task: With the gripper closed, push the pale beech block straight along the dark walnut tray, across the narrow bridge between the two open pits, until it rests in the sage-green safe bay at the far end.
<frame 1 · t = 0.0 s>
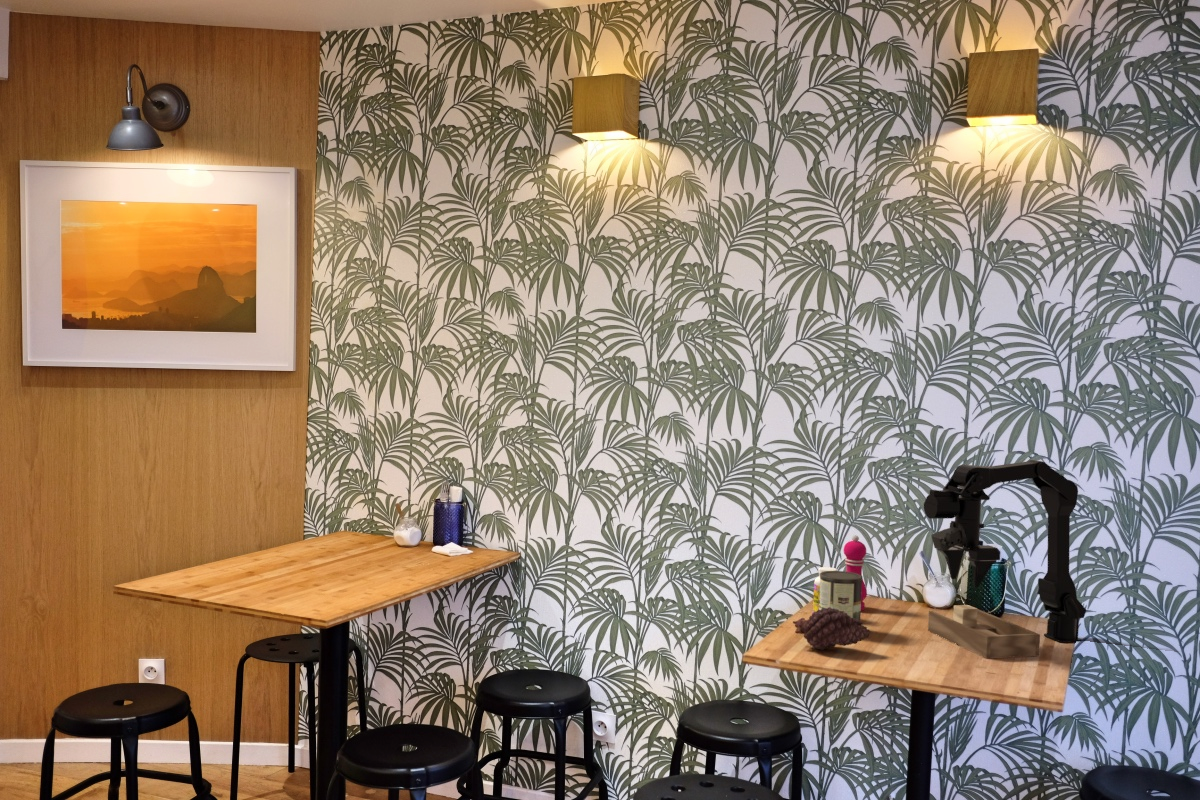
hand: (964, 583, 252), 15 cm above the table, tool pointing down, fingers open, 9 cm apart
beech block: (964, 625, 260), point 2 cm above the table, touching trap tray
supplement bottle: (825, 618, 274), on the table
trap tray: (981, 642, 254), on the table
pepper mill: (852, 609, 285), on the table
pine cone: (829, 651, 243), on the table
coffee can: (838, 632, 261), on the table
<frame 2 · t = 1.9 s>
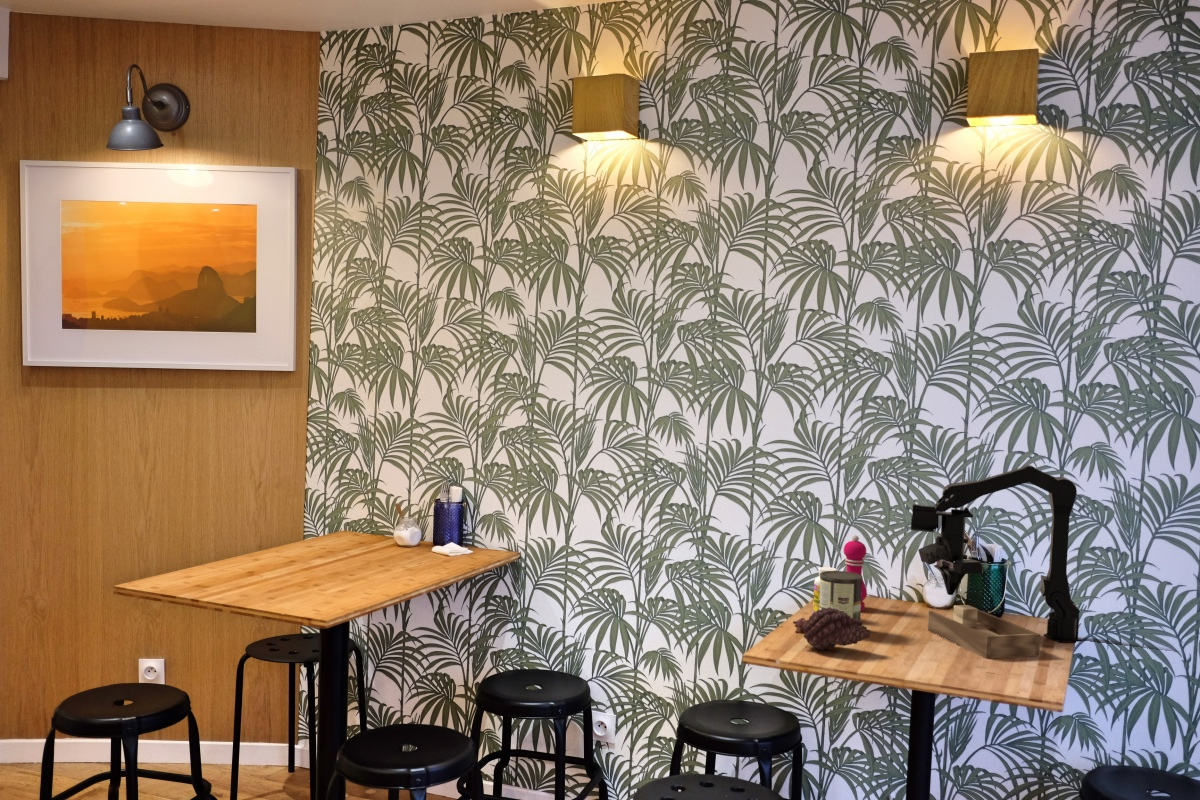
hand: (950, 594, 267), 8 cm above the table, tool pointing down, fingers closed
nothing on the table moved.
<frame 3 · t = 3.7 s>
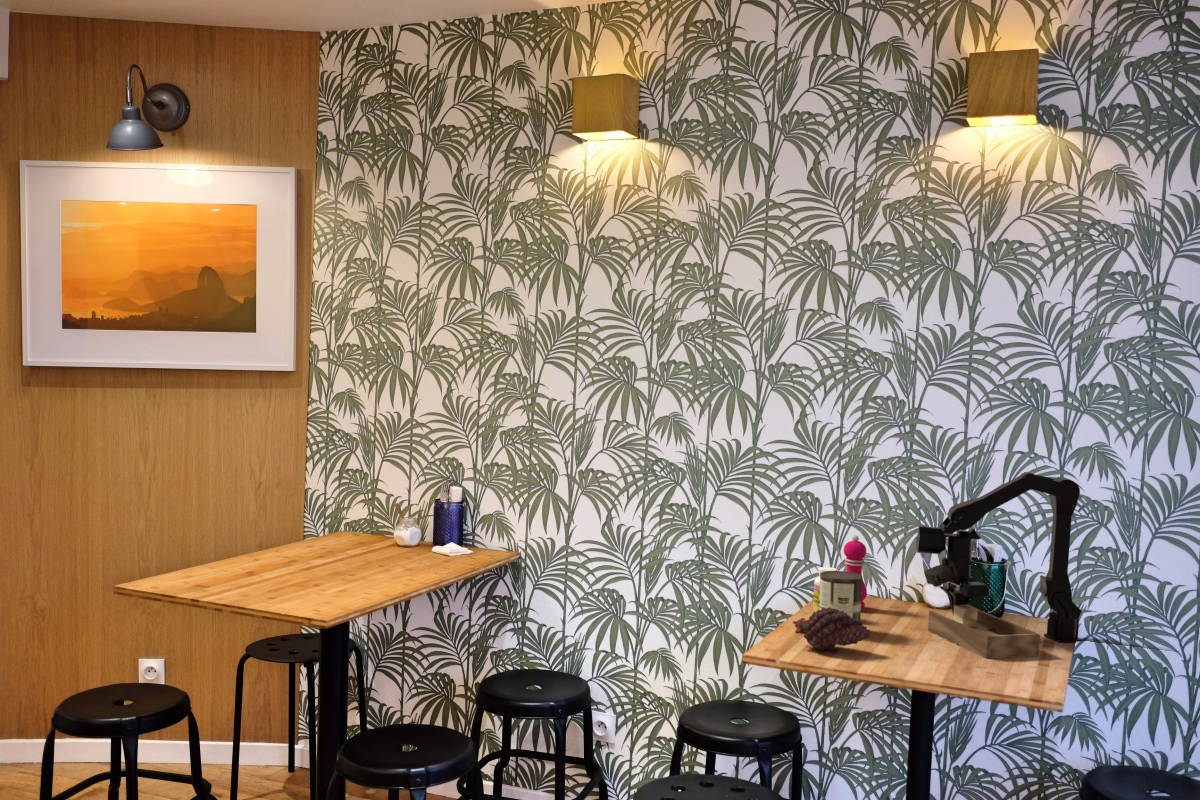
hand: (956, 616, 264), 4 cm above the table, tool pointing down, fingers closed
beech block: (964, 624, 260), point 3 cm above the table, touching gripper, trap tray
everything else where it was.
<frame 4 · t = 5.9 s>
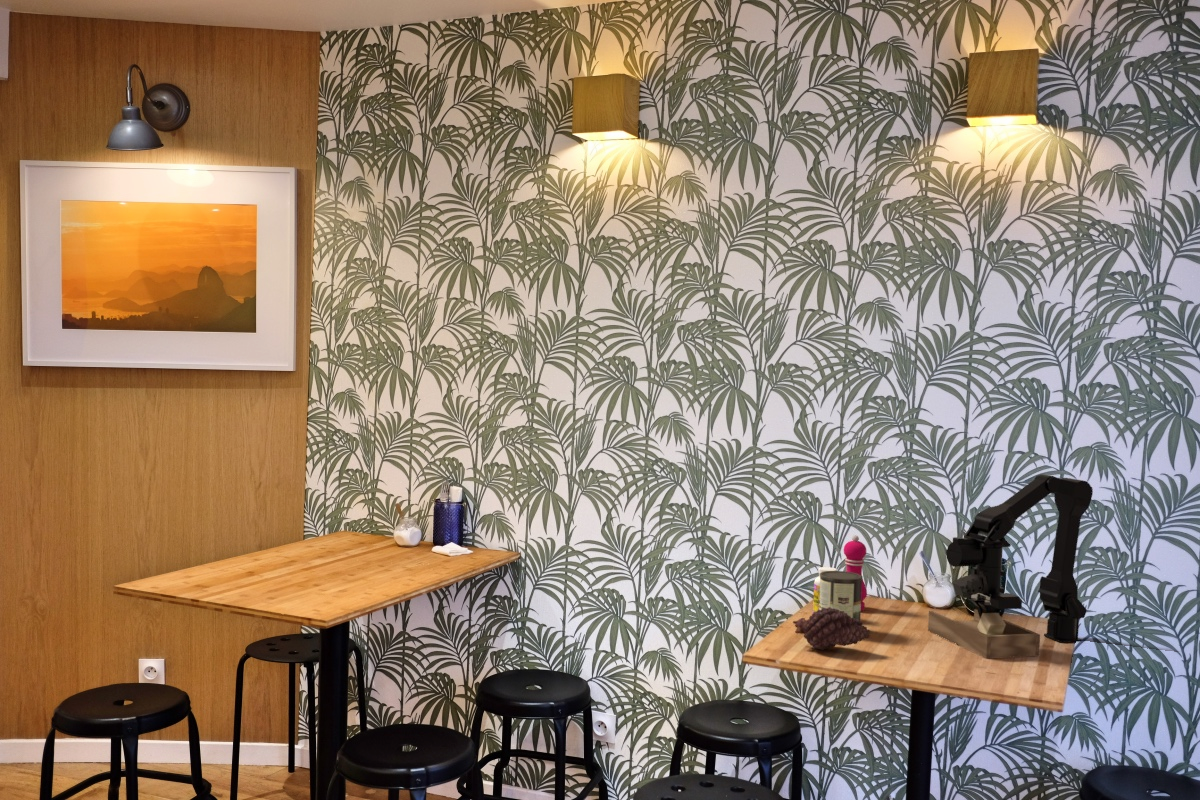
hand: (985, 629, 252), 4 cm above the table, tool pointing down, fingers closed
beech block: (988, 633, 250), point 3 cm above the table, tilted 28°, touching gripper
everything else where it was.
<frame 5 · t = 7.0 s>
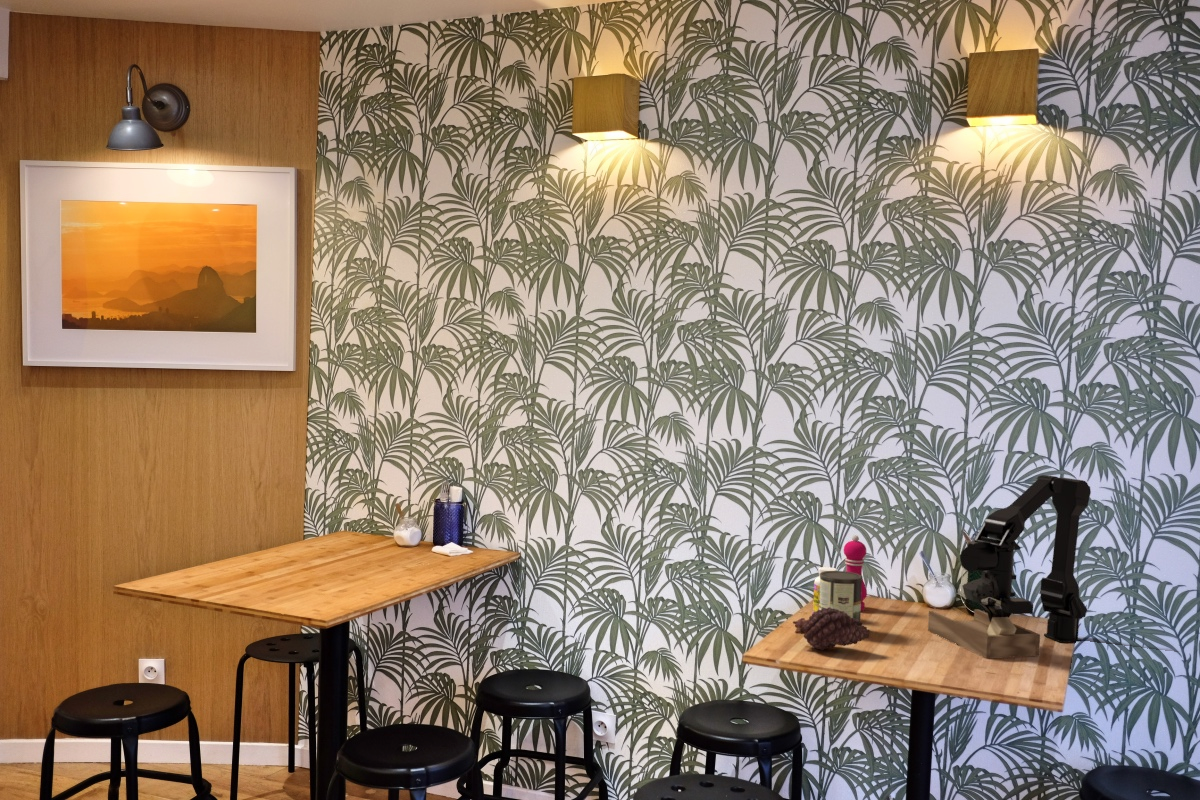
hand: (995, 634, 248), 4 cm above the table, tool pointing down, fingers closed
beech block: (998, 637, 246), point 3 cm above the table, tilted 28°, touching gripper, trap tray
everything else where it was.
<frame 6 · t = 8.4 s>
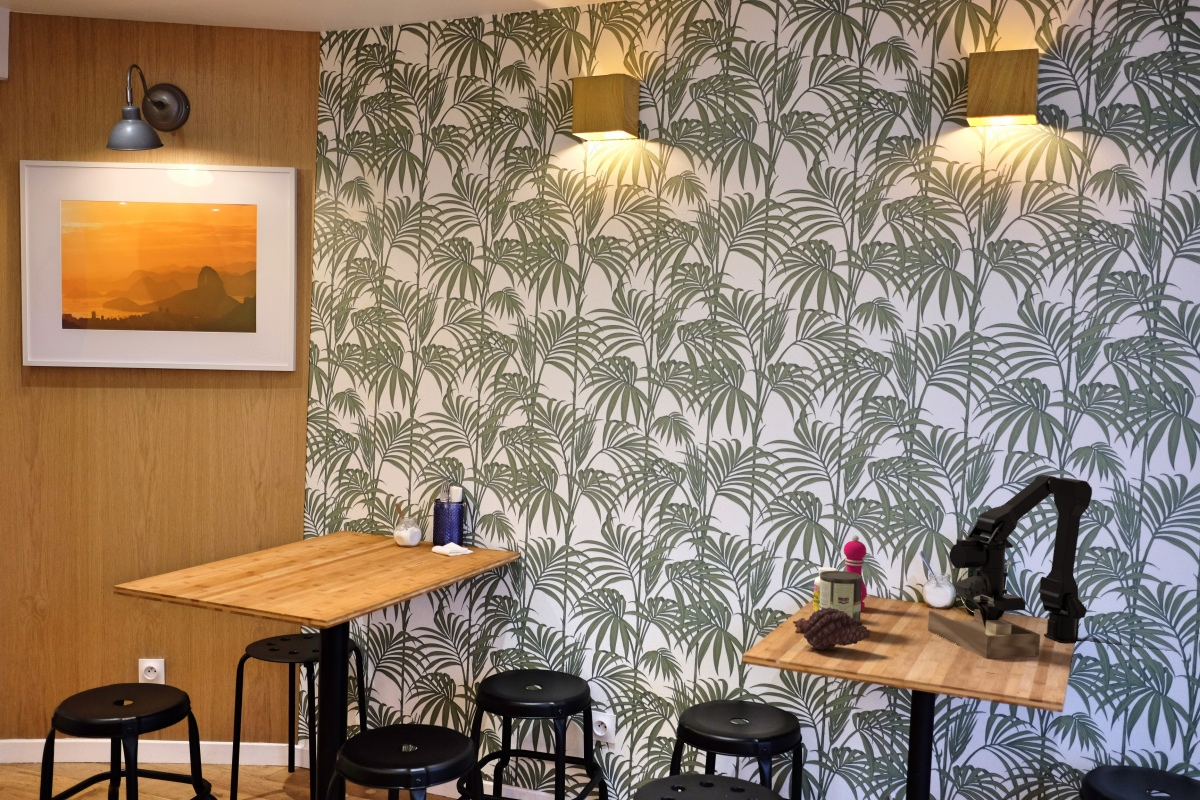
hand: (988, 631, 251), 3 cm above the table, tool pointing down, fingers closed
beech block: (997, 641, 246), point 2 cm above the table, touching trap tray
everything else where it was.
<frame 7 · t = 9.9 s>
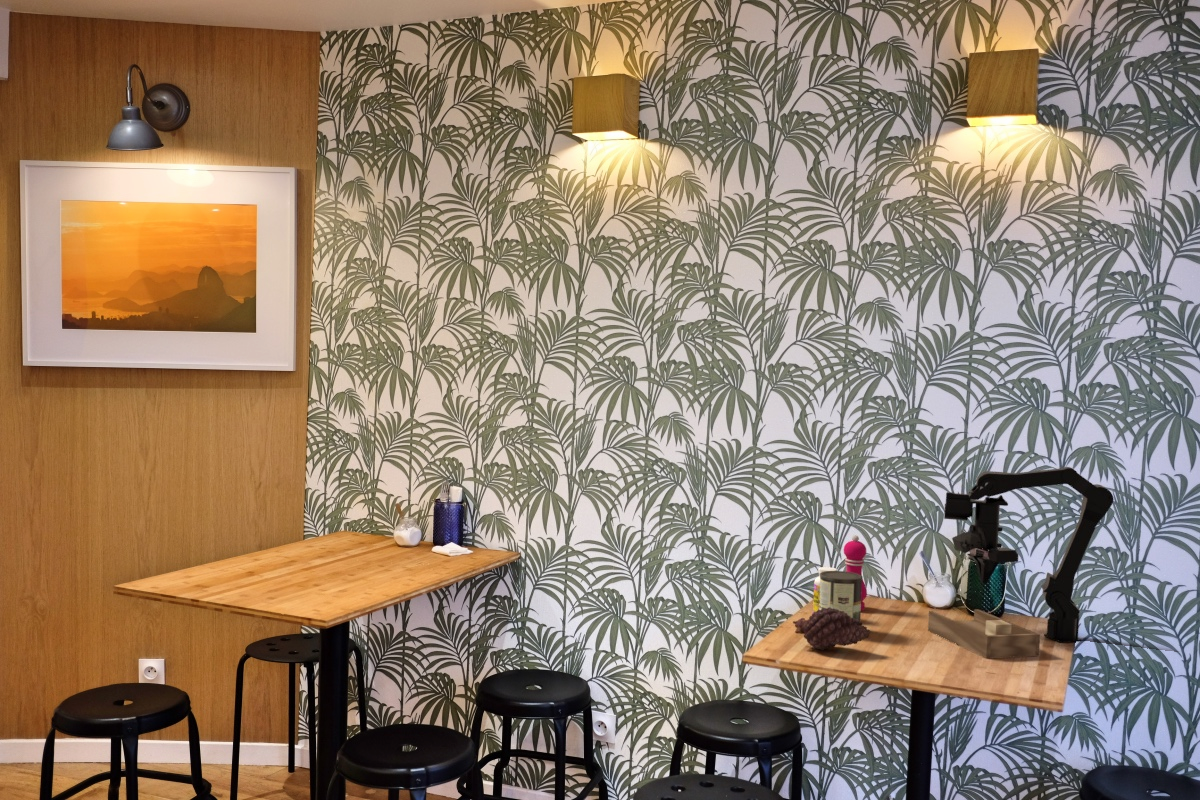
hand: (983, 583, 265), 12 cm above the table, tool pointing down, fingers closed
nothing on the table moved.
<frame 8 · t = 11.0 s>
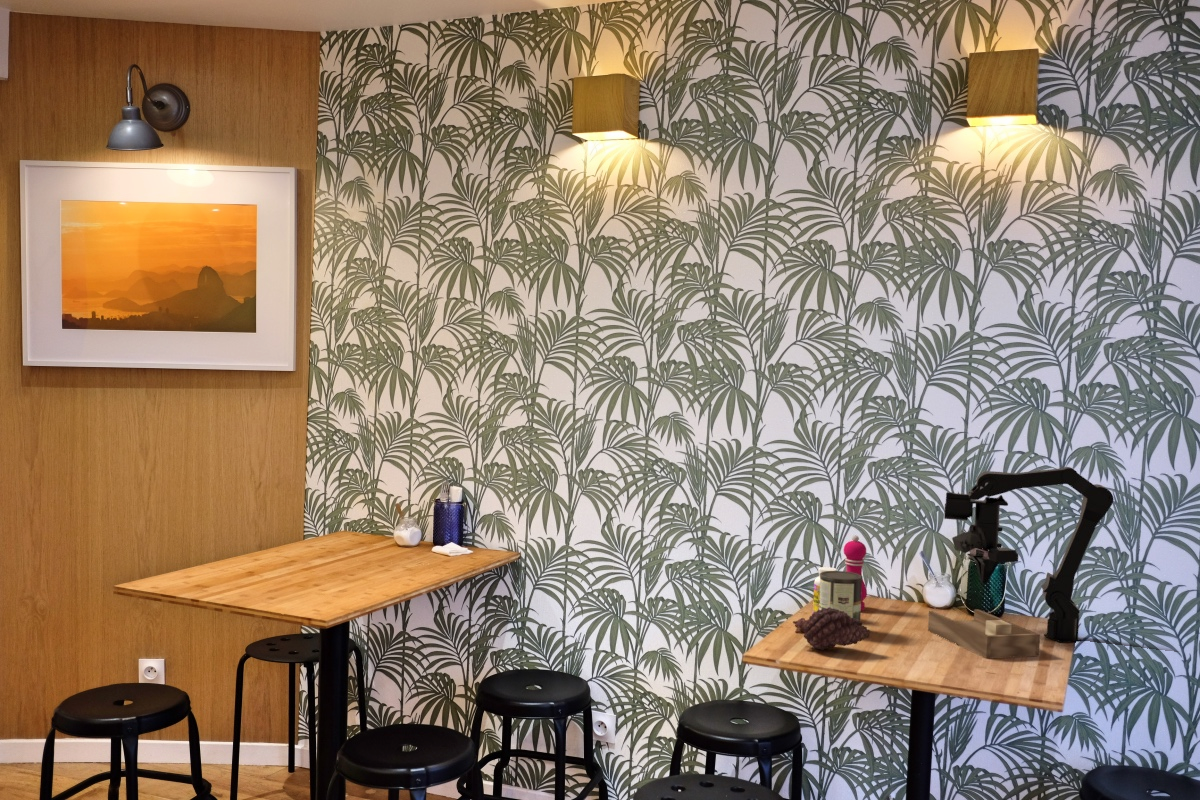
hand: (983, 583, 265), 12 cm above the table, tool pointing down, fingers closed
nothing on the table moved.
at the end: beech block inside the target area on the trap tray (1.1 cm from its centre), point 2.5 cm above the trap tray's base; beech block tilted 0° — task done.
